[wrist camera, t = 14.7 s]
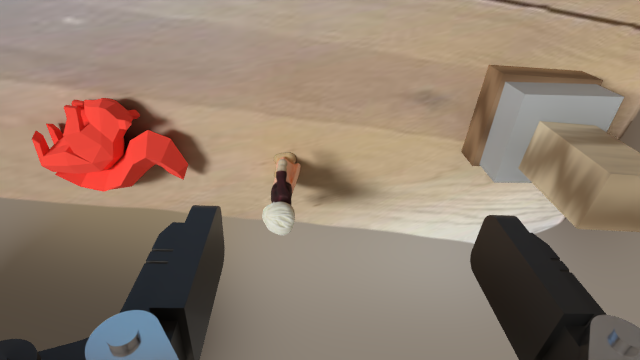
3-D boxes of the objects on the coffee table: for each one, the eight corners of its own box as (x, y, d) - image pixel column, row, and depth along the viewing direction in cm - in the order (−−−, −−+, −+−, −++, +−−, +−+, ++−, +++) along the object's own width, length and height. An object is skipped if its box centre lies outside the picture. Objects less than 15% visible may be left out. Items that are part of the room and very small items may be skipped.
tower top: (505, 81, 38) (525, 94, 35) (596, 84, 39) (624, 96, 36) (479, 164, 44) (494, 182, 40) (559, 165, 44) (581, 183, 41)
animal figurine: (198, 177, 47) (188, 199, 43) (79, 179, 47) (56, 202, 42) (180, 89, 41) (166, 106, 37) (43, 90, 40) (12, 107, 36)
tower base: (487, 63, 41) (503, 73, 38) (578, 69, 42) (603, 80, 39) (460, 150, 47) (472, 165, 44) (541, 154, 48) (559, 169, 45)
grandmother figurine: (303, 187, 49) (304, 254, 38) (275, 190, 49) (267, 258, 38) (296, 135, 44) (295, 194, 34) (265, 138, 44) (253, 197, 34)
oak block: (539, 121, 36) (611, 174, 28) (595, 125, 37) (681, 178, 29) (518, 168, 39) (576, 228, 31) (570, 171, 40) (641, 231, 32)
